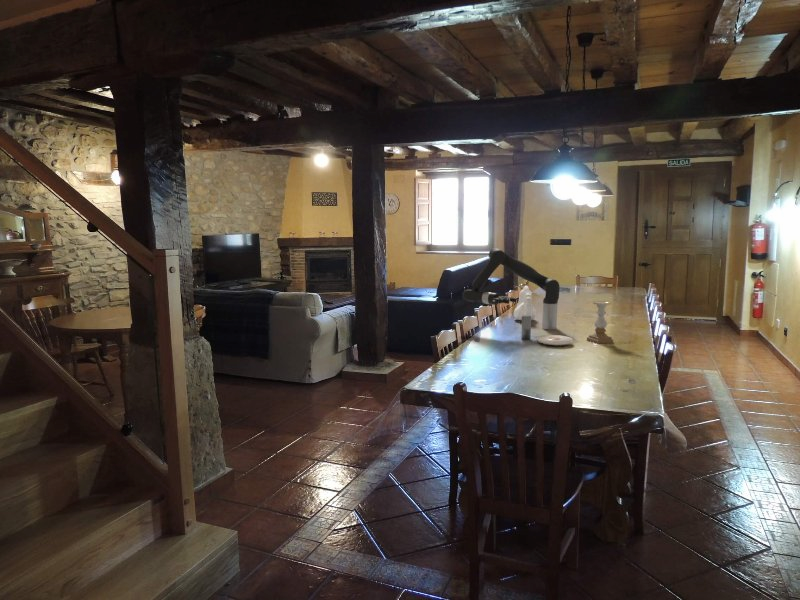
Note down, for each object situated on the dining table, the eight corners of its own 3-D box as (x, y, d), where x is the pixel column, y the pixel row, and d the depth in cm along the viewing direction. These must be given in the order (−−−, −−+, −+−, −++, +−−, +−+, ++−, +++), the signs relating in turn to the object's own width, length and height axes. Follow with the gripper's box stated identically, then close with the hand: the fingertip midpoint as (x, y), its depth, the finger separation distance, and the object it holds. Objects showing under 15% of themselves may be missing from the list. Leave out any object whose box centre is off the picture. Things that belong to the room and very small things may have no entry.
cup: (522, 337, 346) (522, 315, 344) (531, 338, 344) (531, 316, 342) (520, 339, 341) (521, 317, 339) (529, 340, 339) (530, 317, 337)
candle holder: (586, 340, 338) (588, 301, 335) (601, 339, 341) (603, 300, 338) (598, 344, 328) (600, 303, 324) (613, 342, 331) (615, 302, 328)
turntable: (540, 336, 343) (540, 333, 342) (574, 339, 335) (574, 336, 334) (534, 343, 325) (534, 340, 324) (570, 346, 317) (570, 343, 316)
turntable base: (544, 340, 339) (544, 337, 339) (568, 342, 333) (568, 339, 333) (540, 345, 326) (540, 342, 326) (565, 347, 321) (565, 344, 320)
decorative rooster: (514, 317, 415) (515, 284, 411) (536, 318, 411) (537, 284, 407) (511, 323, 391) (512, 288, 388) (534, 324, 387) (536, 289, 383)
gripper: (484, 293, 351) (506, 296, 340) (497, 291, 361) (519, 293, 350) (484, 305, 352) (506, 308, 341) (496, 303, 363) (518, 305, 352)
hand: (512, 301), depth 346 cm, fingers open, 8 cm apart
